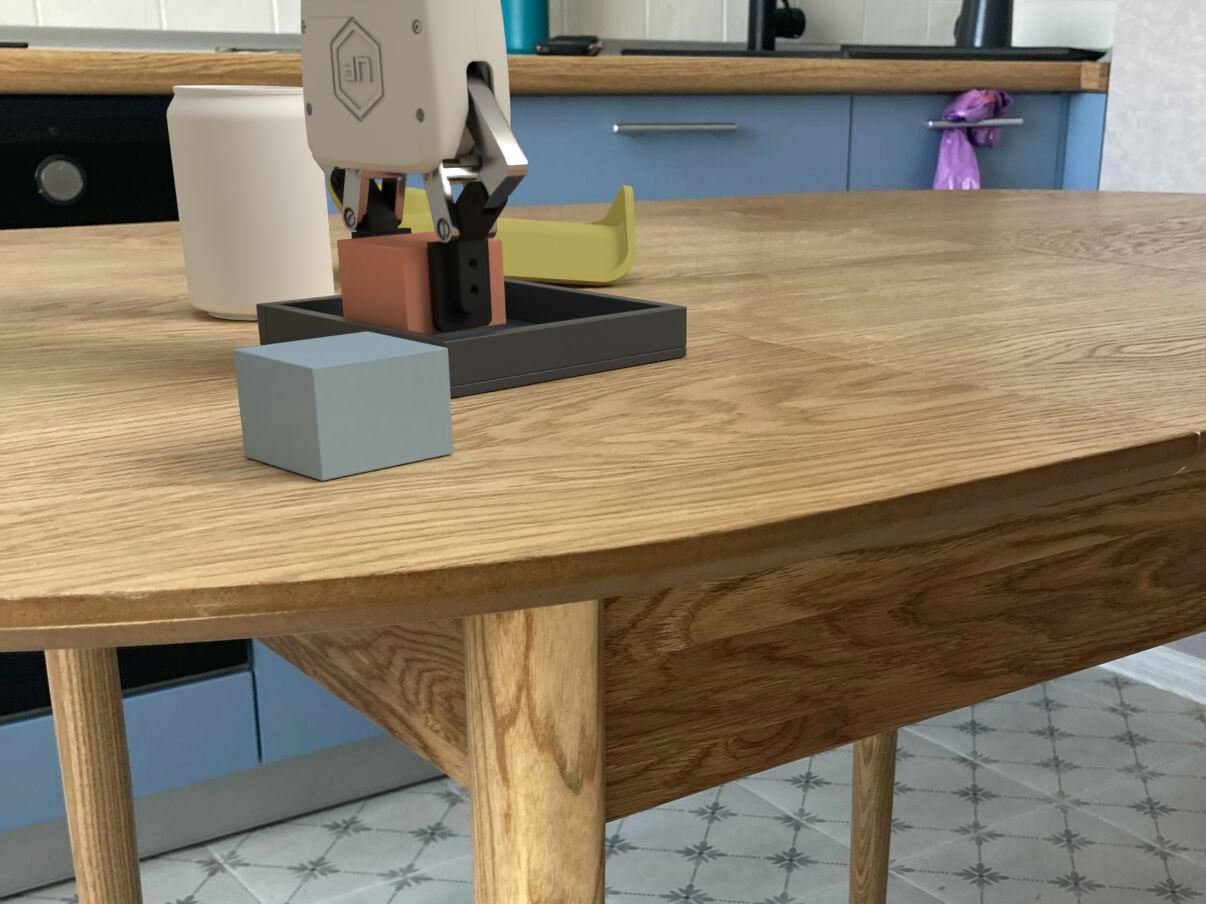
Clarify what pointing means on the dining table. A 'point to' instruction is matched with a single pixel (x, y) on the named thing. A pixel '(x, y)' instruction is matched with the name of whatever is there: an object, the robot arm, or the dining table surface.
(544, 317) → the backing tray
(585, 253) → the plastic component
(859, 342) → the dining table surface
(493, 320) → the coral box block
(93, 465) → the dining table surface
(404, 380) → the slate blue box block
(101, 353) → the dining table surface
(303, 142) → the beverage can
